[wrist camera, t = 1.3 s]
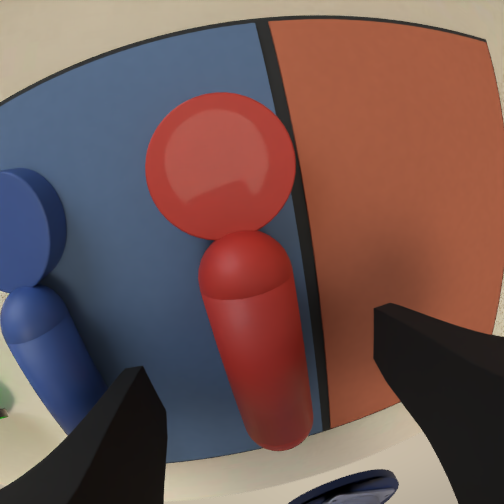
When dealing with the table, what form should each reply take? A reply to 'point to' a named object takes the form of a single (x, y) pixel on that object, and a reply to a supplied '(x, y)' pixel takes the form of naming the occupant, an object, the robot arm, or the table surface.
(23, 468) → the table surface
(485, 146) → the sorting mat
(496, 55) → the table surface
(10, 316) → the blue spoon
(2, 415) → the toy office chair
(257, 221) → the red spoon
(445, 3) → the table surface
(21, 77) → the table surface
